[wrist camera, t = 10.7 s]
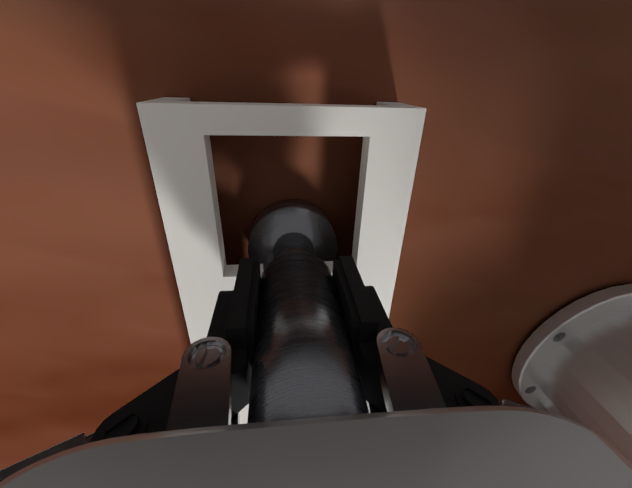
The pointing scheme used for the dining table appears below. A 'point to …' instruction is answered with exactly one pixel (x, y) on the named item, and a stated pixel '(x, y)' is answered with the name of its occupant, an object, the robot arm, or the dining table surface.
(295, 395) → the peg
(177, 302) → the dining table surface
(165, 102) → the keyhole plate
